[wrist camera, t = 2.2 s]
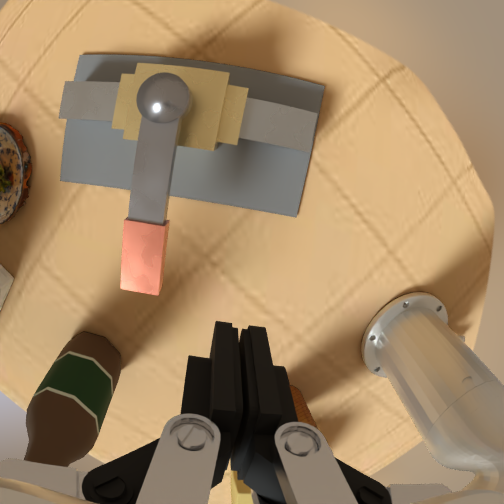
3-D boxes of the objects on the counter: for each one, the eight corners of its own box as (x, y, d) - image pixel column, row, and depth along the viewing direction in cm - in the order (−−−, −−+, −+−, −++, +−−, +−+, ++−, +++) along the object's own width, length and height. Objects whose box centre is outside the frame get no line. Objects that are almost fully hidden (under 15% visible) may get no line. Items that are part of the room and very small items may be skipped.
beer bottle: (78, 318, 34) (-20, 481, 11) (133, 352, 36) (75, 534, 13) (61, 357, 36) (-16, 502, 13) (111, 387, 37) (60, 544, 15)
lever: (151, 77, 19) (142, 70, 16) (197, 82, 19) (193, 75, 17) (125, 276, 23) (116, 290, 21) (166, 283, 24) (160, 298, 22)
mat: (323, 86, 27) (324, 86, 27) (295, 216, 31) (296, 217, 31) (81, 55, 24) (79, 54, 24) (61, 180, 28) (60, 180, 28)
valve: (309, 103, 28) (337, 92, 20) (296, 163, 30) (320, 173, 22) (85, 74, 25) (43, 58, 17) (75, 132, 27) (29, 134, 19)
